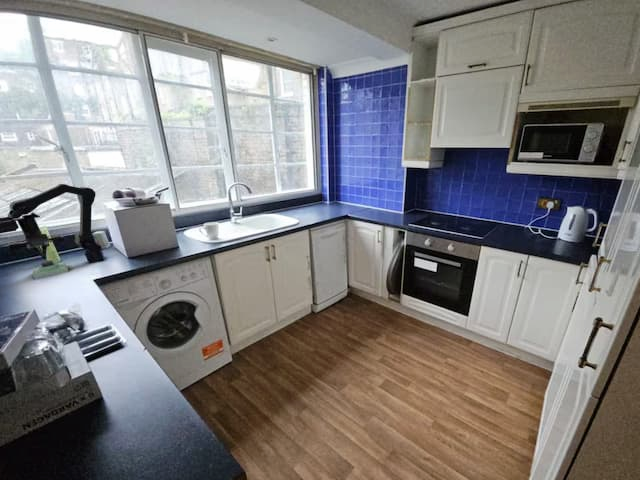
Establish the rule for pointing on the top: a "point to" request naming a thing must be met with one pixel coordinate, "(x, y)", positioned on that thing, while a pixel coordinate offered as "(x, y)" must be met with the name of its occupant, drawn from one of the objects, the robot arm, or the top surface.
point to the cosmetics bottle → (101, 239)
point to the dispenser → (49, 270)
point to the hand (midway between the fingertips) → (45, 259)
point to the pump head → (47, 263)
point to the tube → (50, 247)
